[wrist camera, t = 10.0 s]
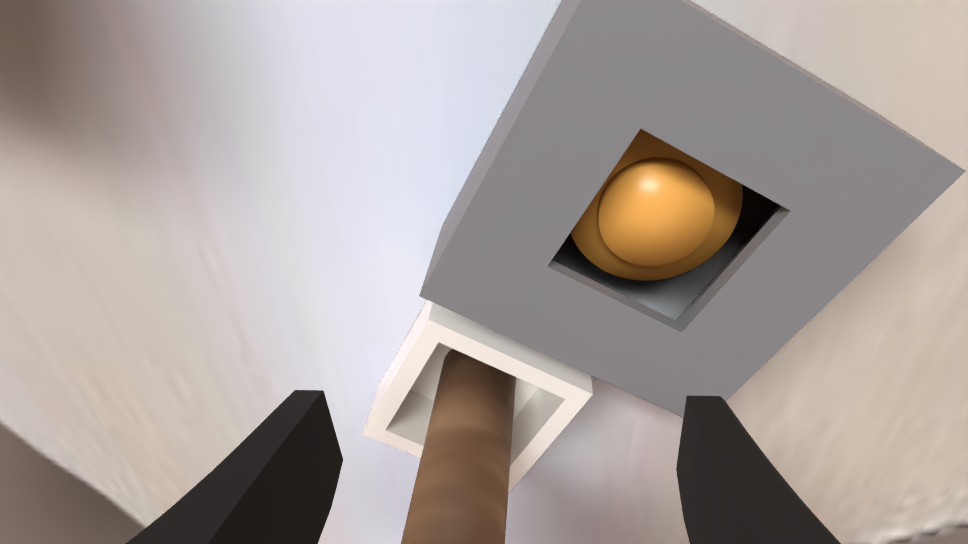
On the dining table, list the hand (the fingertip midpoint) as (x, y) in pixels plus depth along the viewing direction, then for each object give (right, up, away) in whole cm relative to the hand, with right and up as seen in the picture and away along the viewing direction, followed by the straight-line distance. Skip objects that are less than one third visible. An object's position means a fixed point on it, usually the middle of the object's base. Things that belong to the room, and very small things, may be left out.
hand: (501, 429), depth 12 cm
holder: (-1, -1, +13) cm, 13 cm away
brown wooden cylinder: (-1, -1, +12) cm, 12 cm away
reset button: (+5, +5, +6) cm, 10 cm away
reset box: (+5, +6, +8) cm, 11 cm away
